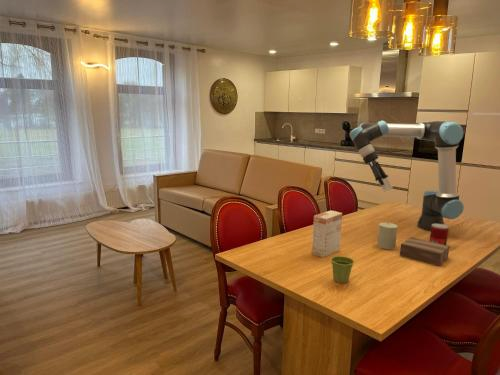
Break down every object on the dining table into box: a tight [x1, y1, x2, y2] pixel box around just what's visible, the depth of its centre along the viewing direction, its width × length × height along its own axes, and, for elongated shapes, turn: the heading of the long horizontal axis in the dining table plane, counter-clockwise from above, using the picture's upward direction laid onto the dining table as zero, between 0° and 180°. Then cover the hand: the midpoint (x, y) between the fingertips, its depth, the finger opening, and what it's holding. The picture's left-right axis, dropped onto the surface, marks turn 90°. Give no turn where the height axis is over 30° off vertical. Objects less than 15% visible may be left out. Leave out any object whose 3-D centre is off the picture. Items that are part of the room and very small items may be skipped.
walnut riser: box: [399, 236, 450, 267], centre depth 180 cm, size 14×18×6 cm
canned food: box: [429, 223, 449, 245], centre depth 195 cm, size 8×8×11 cm
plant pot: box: [330, 255, 355, 284], centre depth 152 cm, size 9×9×9 cm
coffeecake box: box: [311, 210, 343, 258], centre depth 182 cm, size 15×7×20 cm, turn 134°
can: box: [376, 222, 399, 250], centre depth 193 cm, size 9×9×12 cm
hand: (388, 190), depth 193 cm, fingers open, 13 cm apart
